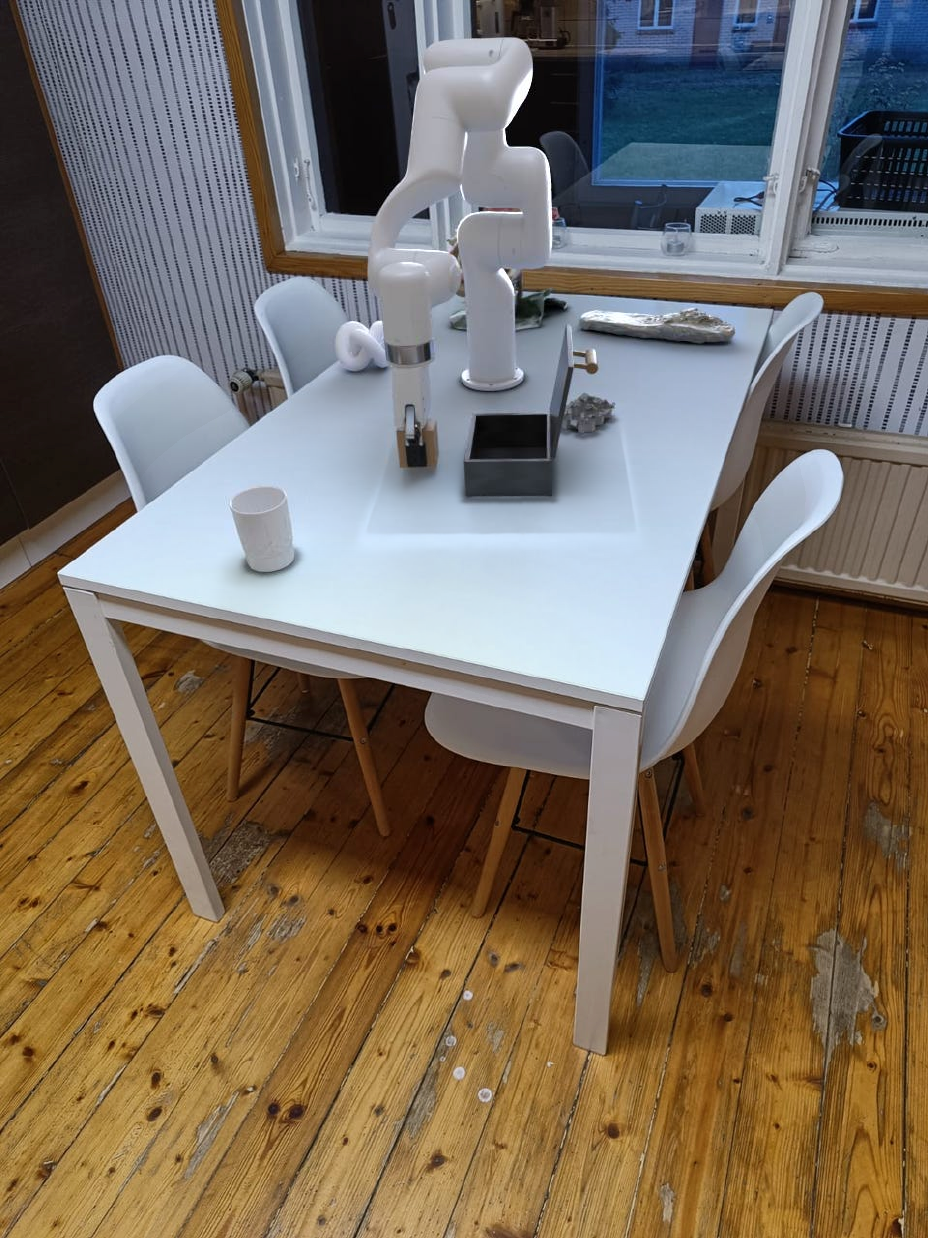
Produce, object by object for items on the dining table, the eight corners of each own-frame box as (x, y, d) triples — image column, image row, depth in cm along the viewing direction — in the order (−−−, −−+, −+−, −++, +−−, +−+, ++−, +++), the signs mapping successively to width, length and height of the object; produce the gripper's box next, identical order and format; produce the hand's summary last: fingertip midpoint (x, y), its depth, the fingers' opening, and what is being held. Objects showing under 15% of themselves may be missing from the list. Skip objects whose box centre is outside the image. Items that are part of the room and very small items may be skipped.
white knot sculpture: (359, 352, 192) (354, 312, 187) (406, 358, 188) (402, 317, 182) (332, 370, 184) (325, 328, 179) (380, 377, 180) (375, 334, 174)
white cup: (247, 547, 128) (233, 488, 122) (300, 543, 128) (288, 483, 122) (241, 577, 122) (225, 516, 116) (296, 572, 122) (284, 511, 116)
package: (399, 468, 141) (395, 430, 137) (403, 455, 144) (399, 418, 140) (436, 467, 140) (433, 429, 136) (438, 455, 144) (436, 418, 140)
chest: (465, 500, 136) (463, 461, 132) (473, 449, 150) (471, 413, 146) (551, 500, 135) (552, 460, 131) (551, 448, 149) (551, 412, 145)
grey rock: (587, 439, 151) (588, 418, 149) (552, 430, 155) (552, 408, 153) (618, 417, 158) (619, 396, 155) (583, 409, 162) (584, 388, 159)
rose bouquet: (465, 296, 221) (458, 166, 203) (574, 304, 212) (577, 168, 194) (423, 328, 203) (412, 189, 185) (541, 339, 193) (541, 193, 175)
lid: (568, 366, 122) (603, 371, 122) (565, 324, 136) (597, 329, 136) (549, 457, 130) (582, 462, 130) (549, 409, 145) (578, 413, 145)
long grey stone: (587, 324, 203) (573, 340, 196) (587, 301, 200) (572, 317, 193) (739, 331, 189) (728, 348, 182) (740, 307, 185) (730, 324, 179)
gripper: (393, 332, 138) (403, 437, 149) (376, 371, 125) (389, 483, 136) (439, 331, 137) (446, 436, 148) (428, 370, 124) (436, 483, 135)
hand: (419, 457), depth 142 cm, fingers closed on package, 4 cm apart
